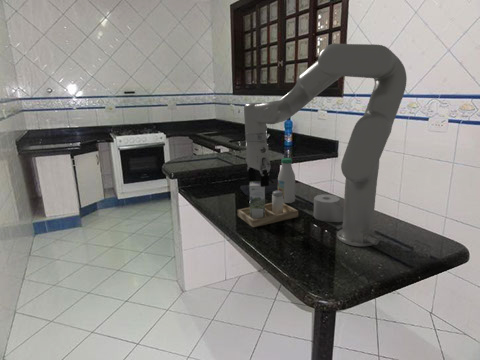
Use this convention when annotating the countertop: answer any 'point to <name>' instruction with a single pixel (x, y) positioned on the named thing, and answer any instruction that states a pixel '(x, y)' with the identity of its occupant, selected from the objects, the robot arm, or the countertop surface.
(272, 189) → the dark slate chunk
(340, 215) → the toilet tissue
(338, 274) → the countertop surface
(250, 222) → the caddy
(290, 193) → the milk bottle
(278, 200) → the shaker
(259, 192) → the syrup box
